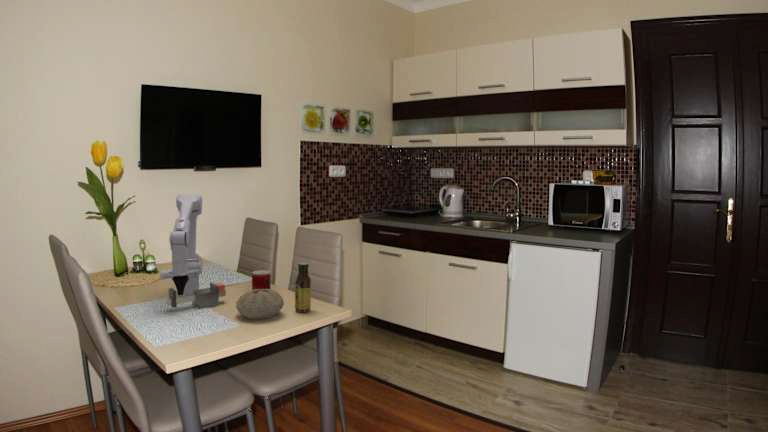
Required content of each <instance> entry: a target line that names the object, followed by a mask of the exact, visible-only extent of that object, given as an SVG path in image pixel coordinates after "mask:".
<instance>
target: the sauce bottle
mask: <svg viewBox="0 0 768 432" xmlns="http://www.w3.org/2000/svg"><path fill="white" fill-rule="evenodd" d="M297 266H298V274H297V276H296V279H295V282H294V307H295V312H296V313H299V314H300V313H301V314H302V313H303V314H304V313H305V314H307V313H309V312H310V311H311V307H312V306H311V305H312V304H311V303H312V301H311V299H312V295H311V294H312V280H311V277H310V275H309V262H306V261H305V262H304V261H302V262H301V261H300V262H299V263H298V264H297Z"/></svg>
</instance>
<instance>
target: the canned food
mask: <svg viewBox="0 0 768 432" xmlns="http://www.w3.org/2000/svg"><path fill="white" fill-rule="evenodd" d="M271 277H272V275H271V271H270V270H263V269H261V270H254V271H252V272H251V290H255V289H256V290H257V289H260V290H261V289H271V286H272V285H271Z"/></svg>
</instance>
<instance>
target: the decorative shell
mask: <svg viewBox="0 0 768 432" xmlns="http://www.w3.org/2000/svg"><path fill="white" fill-rule="evenodd" d="M235 302H236V305H235V308H236V310H237V312H238V313H239V314H240V315H241V316H244V317H245V318H248V319H250V320H260V319H268V318H271V317H273V316H276V315H277V314H278V313H279V312H280V311H281V310H282V309H283V307H284V304H285V303H284V299H283V297H282V295H281V294H280V293H279V292H278V291H276V290H274V289H271V288H270V289H261V290H260V289H257V290H256V289H255V290H252V289H251V290H250V291H249V290H248V291H247V292H245V293H243V294H242V295H241V296H240V297H239V298H238V300H237V301H235Z"/></svg>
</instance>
